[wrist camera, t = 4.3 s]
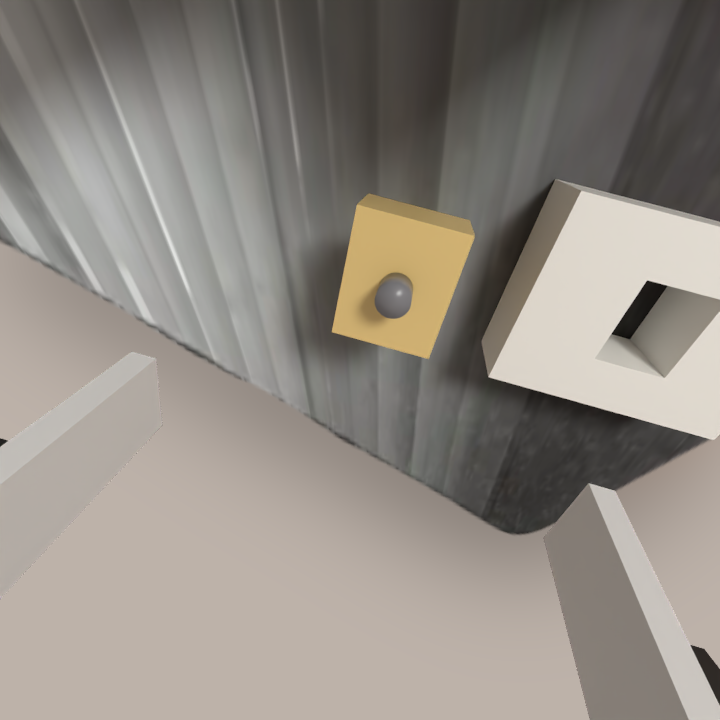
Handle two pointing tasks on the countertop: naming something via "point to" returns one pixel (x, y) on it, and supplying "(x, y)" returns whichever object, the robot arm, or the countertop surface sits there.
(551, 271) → the socket
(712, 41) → the countertop surface
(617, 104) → the countertop surface
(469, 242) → the plug
